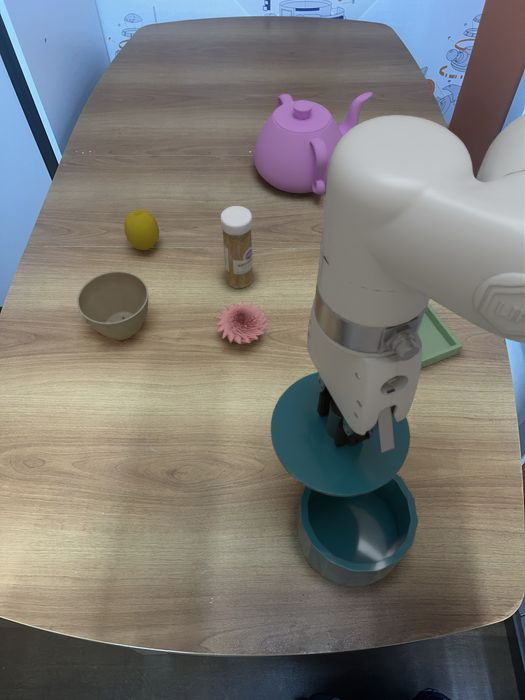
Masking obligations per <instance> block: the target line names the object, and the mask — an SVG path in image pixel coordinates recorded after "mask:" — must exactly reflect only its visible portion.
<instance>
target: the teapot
mask: <svg viewBox="0 0 525 700" xmlns="http://www.w3.org/2000/svg"><path fill="white" fill-rule="evenodd" d="M372 96H373V92H371V91H368V92H365V93H362V94H360V95H358V96H357V97H356V98H355V99H354V100H353V101H352V102H351V104H350V106H349V108H348V112H347V114H346V117H345V118H344V121H343V122H342V123H341V124H340V125H338V124H337V122H336V120H335V118H334V117H333V115H332V113H331V112H330V111H329V110H328V109H327V108H326V107H324V106H323V105H322V104H320V103H317V102H315V101H310V100H307V99H298V100H294V99H293V97H292V96H291V94H289V93H282V94H279V96H277V98H276V108H275V110H274V111H273V112H272V113H271V114H270V116H269V117H268V118H267V119H266V120H265V122H264V124H263V125H262V128H261V129H260V131H259V133H258V136H257V138H256V141H255V145H254V150H253V163H254V166H255V168H256V171H257V173H258V174H259V175H260V176H261V177H262V178H263V179H264V180H265V181H266V182H267V183H268V184H269V185H271V186H272V187H274V188H275V189H278V190H280V191H283V192H286V193H292V194H308V193H314V194H316V195H323V194H324V193H326V186H327V176H328V169H329V163H330V158H331V156H332V153H333V150H334V148H335V147H336V145H337V144H338V142H339V140H340V139H341V138H342V137H343V136H344V135H345V134H346V133H347V132H348V131H349V130H350V129H351V128H353V127H354V126H356V125H358V124H359V118H360V112H361V110H362V108H363V106H364V104H365V103H366V102H367V101H368V100H369V99H370V98H371V97H372Z"/></svg>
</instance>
